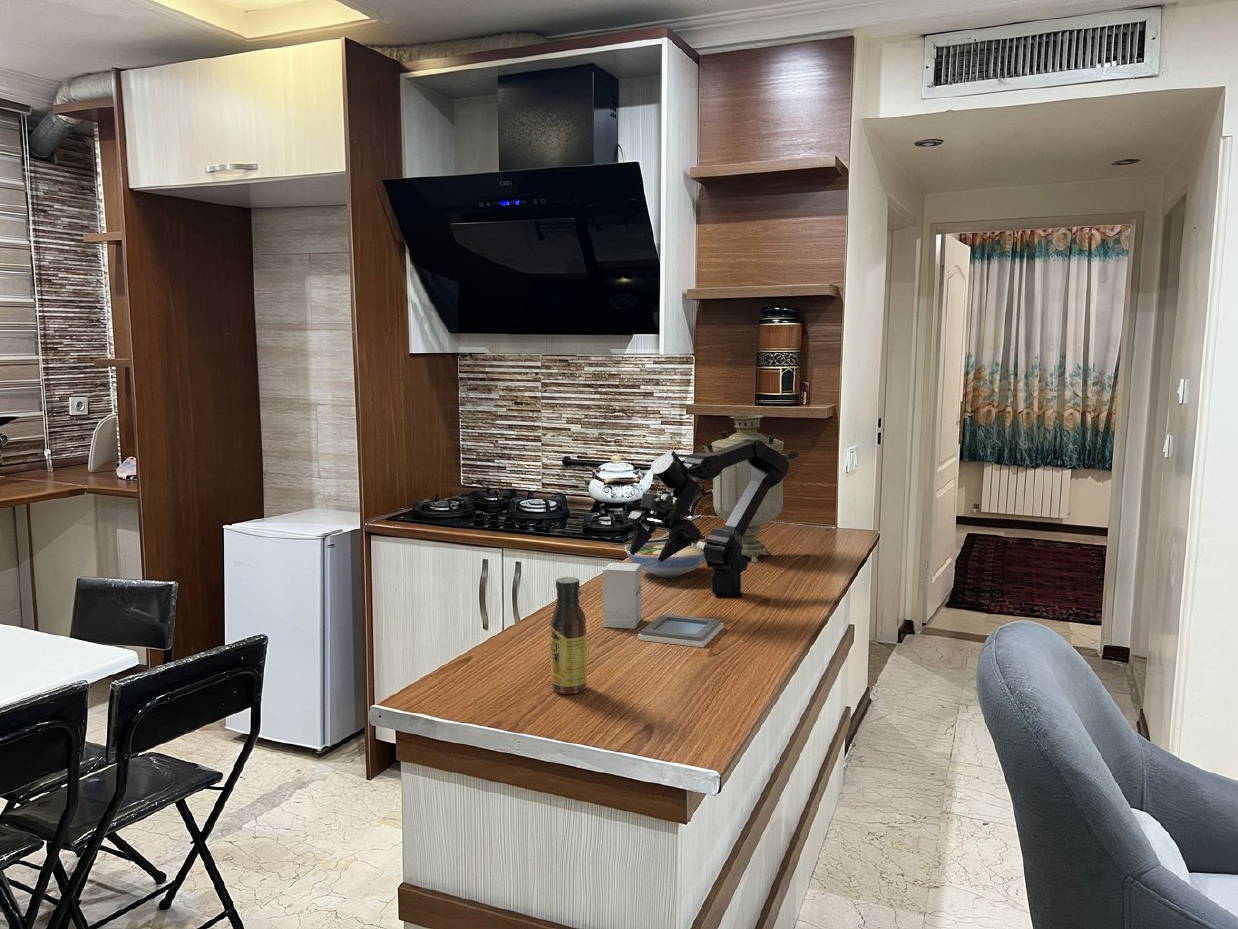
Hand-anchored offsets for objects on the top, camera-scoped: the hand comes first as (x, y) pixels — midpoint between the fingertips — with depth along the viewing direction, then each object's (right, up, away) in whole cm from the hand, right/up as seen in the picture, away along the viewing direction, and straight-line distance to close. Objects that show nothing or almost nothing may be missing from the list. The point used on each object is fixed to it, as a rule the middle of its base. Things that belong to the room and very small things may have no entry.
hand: (645, 557), depth 205 cm
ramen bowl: (+7, -9, +39) cm, 40 cm away
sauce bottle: (-14, -19, -43) cm, 49 cm away
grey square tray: (+7, -15, -12) cm, 20 cm away
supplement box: (-5, -14, -4) cm, 15 cm away
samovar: (+33, -6, +59) cm, 68 cm away
